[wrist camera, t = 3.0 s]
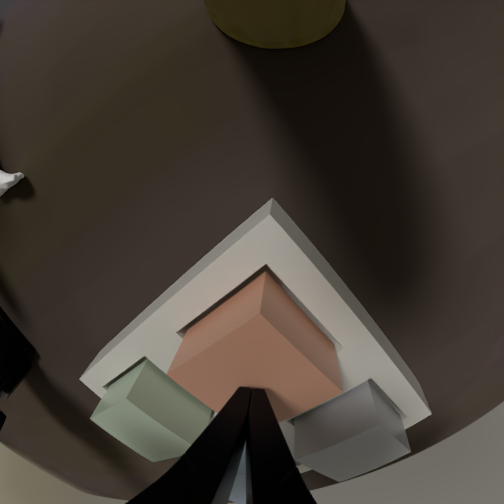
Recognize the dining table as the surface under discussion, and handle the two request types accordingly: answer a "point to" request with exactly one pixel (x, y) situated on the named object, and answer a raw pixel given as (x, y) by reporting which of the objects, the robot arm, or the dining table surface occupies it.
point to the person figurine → (8, 180)
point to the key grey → (350, 434)
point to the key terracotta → (258, 353)
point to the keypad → (298, 289)
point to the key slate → (240, 483)
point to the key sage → (151, 413)
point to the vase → (276, 20)
